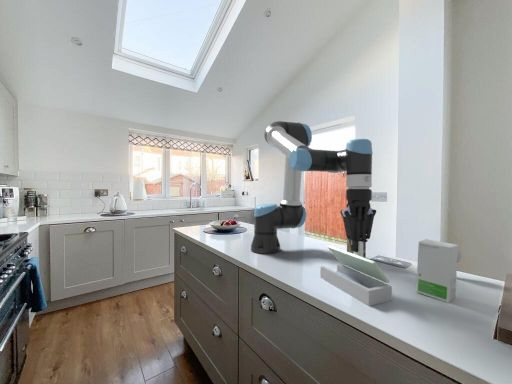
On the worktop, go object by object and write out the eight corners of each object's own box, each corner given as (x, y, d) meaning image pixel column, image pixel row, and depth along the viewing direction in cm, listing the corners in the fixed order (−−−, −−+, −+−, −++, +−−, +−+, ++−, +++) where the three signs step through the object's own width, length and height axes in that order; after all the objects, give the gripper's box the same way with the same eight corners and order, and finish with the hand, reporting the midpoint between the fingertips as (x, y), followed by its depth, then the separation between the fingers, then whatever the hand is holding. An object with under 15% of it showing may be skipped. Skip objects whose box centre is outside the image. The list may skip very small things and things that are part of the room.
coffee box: (366, 262, 99) (366, 224, 99) (350, 261, 101) (350, 224, 100) (361, 256, 108) (361, 221, 108) (346, 255, 109) (346, 221, 109)
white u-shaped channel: (320, 277, 82) (320, 266, 82) (339, 274, 85) (339, 263, 85) (368, 305, 62) (368, 290, 62) (391, 300, 65) (391, 286, 65)
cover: (327, 246, 83) (328, 245, 83) (340, 262, 85) (341, 261, 85) (373, 263, 64) (374, 261, 65) (388, 283, 67) (389, 281, 67)
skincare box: (415, 292, 71) (416, 241, 70) (423, 287, 75) (424, 238, 74) (450, 303, 64) (451, 246, 64) (457, 297, 68) (458, 243, 68)
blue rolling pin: (333, 281, 80) (332, 272, 80) (341, 279, 81) (340, 270, 81) (355, 293, 70) (354, 283, 70) (363, 291, 72) (362, 280, 71)
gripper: (351, 188, 69) (350, 267, 70) (383, 188, 74) (383, 262, 74) (334, 188, 76) (334, 260, 77) (365, 188, 81) (364, 256, 81)
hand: (358, 261), depth 75 cm, fingers closed
